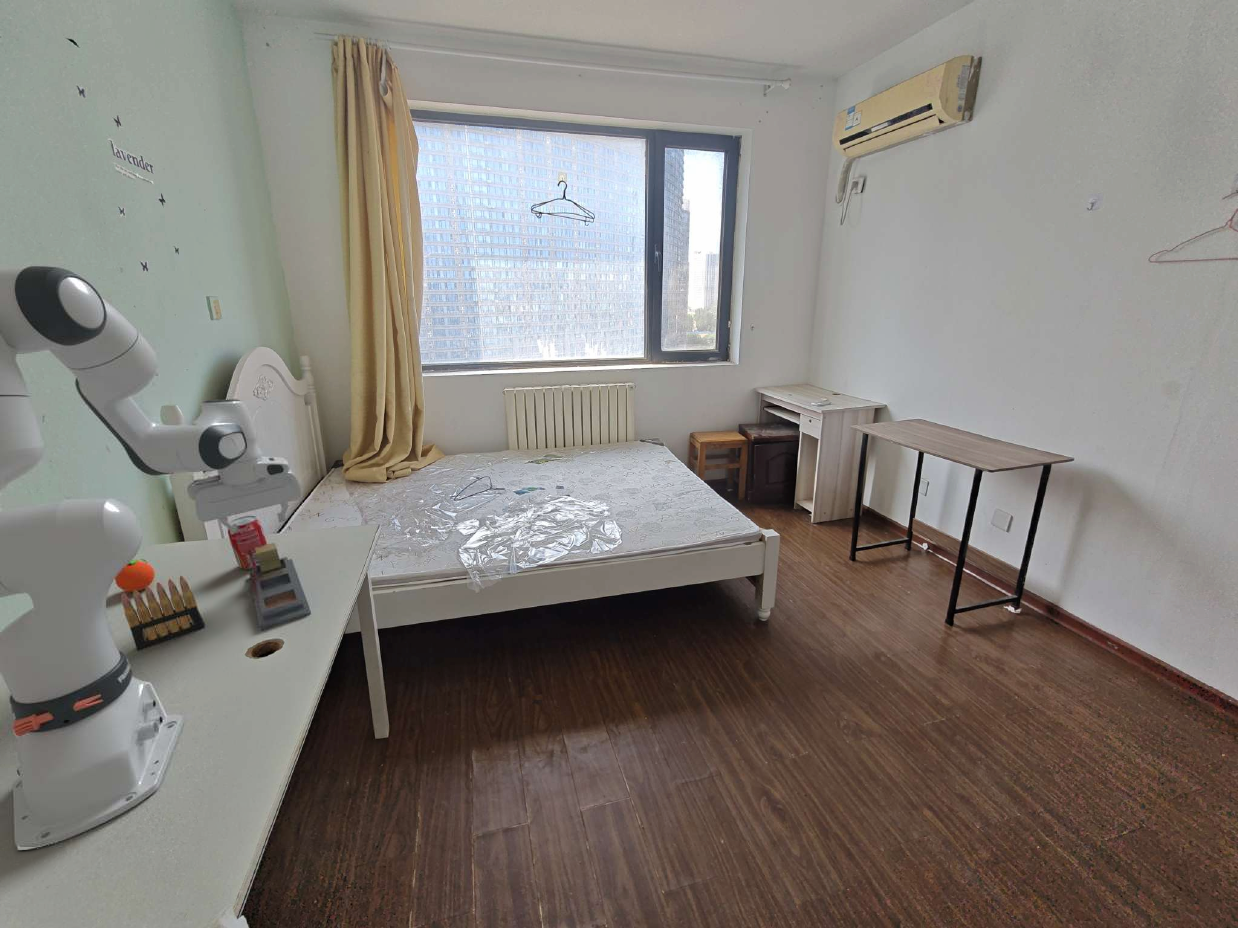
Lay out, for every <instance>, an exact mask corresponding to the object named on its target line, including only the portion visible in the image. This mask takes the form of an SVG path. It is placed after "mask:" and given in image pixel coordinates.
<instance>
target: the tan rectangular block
mask: <svg viewBox="0 0 1238 928" xmlns="http://www.w3.org/2000/svg"><path fill="white" fill-rule="evenodd" d="M255 550H256V554H257V558H258V561H259V565H260V568H261V571H262V575H263V574H266V573H270V572H273V571H276V570H280V569H282V566H281V562H280V559H281V558H280V555H279V552H278V548H277V546H276V543H275V542H272V543H267V545H264V546H260V547H256V548H255Z"/></svg>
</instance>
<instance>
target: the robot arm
mask: <svg viewBox="0 0 1238 928" xmlns="http://www.w3.org/2000/svg"><path fill="white" fill-rule="evenodd" d="M43 351H49V352H50V353H51V354H52V355H53V356H54V357H55V358H56V359H57V360H58V361H59V362H60V363H62V365H64V366H65V367H66V368H67V369H68V370H69V371H70V372H71V373H72V374H73V375H74V377H75V388H76V391H77V393H78V394H79V396H80V397H81V399H82V400H83V401H84V403H85V405H87V407H88V408H89V410H90V411H92V413H93V414H95V416H96V417H97V418H98V419H99V420H100V421H101V423H102V424H103V425H104V426H105V427H106V428H107V429H108V431H109V432H110V433H112V435H113V436H114V437H115V438H116V439H117V441H119V443H120V444H121V445H122V447H123V449H124V450H125V452H126V454H127V455H128V458H129V460H130V461H131V463H132V464H133V465H134V466H135V467H136V468H137V469H138V470H139V471H140V472H142V473H143V474H146V475H149V476H153V477H154V476H164V475H172V474H178V473H179V474H180V473H199V472H213V471H214V472H215V471H217V475H213V476H209V477H206V478H205V477H204V478H198V479H197V478H196V479H195V480H193V482H191V483H189V484H188V486H187V487H186V488H187V489H186V490H187V494H188V497H189V498H190V500H192V501H194V505H195V511H196V515H197V519H198V520H199V521H201V522H203V523H206V522H211V521H215V520H219V521H220V523H221V524H222V526H225V527H226V528H227V529H228V528H229V530H230V533H231V535H232V534H236V533H239V531H238V528H237V524H233V525H232V524H231V523H229V522H230V521H229V517H231V516H235V515H236V516H237V515H240V514H244V513H248V512H252V511H257V510H260V509H265V508H269V507H272V506H277V505H280V507H281V511H280V512H277V513H276V516H277V518H278V519H277V520H278V522H279V523H282V522H286V521H287V517H286V513H287V511H288V509H289V503H290V502H294V501H298V500H302V497H303V495H304V492H303V489H302V486H301V484H300V482H299V480H298V478H297V476H296V474H295V473H294V471H293V470H292V469H291V468H290V464H289V461H287V459H286V458H285V457H280V456H264V455H263V452H262V450H261V449H260V446H259V445H258V441H257V440H258V434H257V429H256V427H255V424H254V419H253V418H252V415H251V413H250V411H249V408H248V407H247V405H246V404H245V402H244V401H242V400H240V399H237V398H233V399H232V398H231V399H230V398H229V399H228V398H226V399H212V400H211V399H210V400H205V401H204V402H201V404H200V411H201V412H200V414H199V415H198V417H197V418H196V419H195V420H194V421H193V422H191V423H190V424H175V425H173V424H172V425H169V424H162V423H158V422H154V421H152V420H150V419H149V418H148V417H147V415H146V414H145V413H144V412H143V410H142V409H141V408H140V407H139V406H138V404H137V403H136V402H135V401H134V399H133V398H132V396H134V395H135V396H136V394H138V393H139V392H141V391H142V390H143V389H145V388H146V387H147V386H148V385H149V384H150V383H151V381H152V380H153V378H154V377H155V375H156V373H157V369H158V364H159V363H158V357H157V354H156V352H155V350H154V349H153V348H152V346H151V345H150V343H149V342H148V341H147V340H146V339H145V337H144V336H143V335H141V333H140V332H139V331H138V330H137V329H136V328H135V327H134V325H133V324H132V323H130V322H129V320H127V318H125V317H124V316H123V315H122V314H121V313H120V312H119V311H118V310H116V308H114V307H113V306H112V305H111V304H110V303H109V302H107V301H106V300H105V299H104V298H102V296H101V295H100V294H99V291H98V290H96V288H95V287H94V286H93V285H92V284H91V283H90V282H88V280H86V279H85V278H83V277H81V275H78V274H76V273H75V272H73V271H71V270H69V269H65V268H61V267H56V266H47V265H46V266H45V265H32V266H28V267H25V268H5V269H4V268H1V269H0V598H4V597H5V598H6V597H9V596H13V595H18V594H20V595H21V594H27V595H28V596H29V597H30V599H31V602H32V606H33V607H32V608H30V609H29V610H28V611H26V612H25V613H23V614H21V615H20V616H19V617H17V618H16V619H14V620H13V621H11V622H10V623H9V624H8V625H7V626H5V627H4V628H3V629H2V630H1V631H0V675H1V677H2V680H3V681H4V683H5V685H6V686H7V690H8V691H9V693H10V696H9V703H10V711H11V714H12V717H13V719H14V721H13V727H12V728H13V734H14V735H15V737H16V744H17V753H18V761H19V762H18V763H19V766H18V767H17V770H16V772H17V775H18V776H17V778H15V779H14V781H13V783H12V789H13V790H12V791H13V792H12V793H13V794H12V796H13V799H12V800H13V827H14V828H13V829H14V831H13V833H14V836H13V837H14V845H15V844H16V845H15V847H16V846H20V847H38V846H43V845H44V846H45V845H48V844H51V845H54V844H57V843H60V842H62V841H65V840H68V839H70V838H72V837H74V836H77V835H79V834H82V833H84V832H86V831H88V830H91V829H93V828H96V827H97V826H99V825H101V824H104V823H106V822H108V821H109V820H112V819H113V818H115V817H117V816H119V815H121V814H123V813H125V812H126V811H129V810H130V809H132V808H133V807H135V806H137V805H138V804H140V803H141V802H143V801H144V800H145V799H146V798H149V796H151V795H153V793H155V792H156V791H157V790H158V788H159V787H160V785H161V782H162V780H163V777H164V775H165V772H166V770H167V767H168V764H169V762H170V759H171V757H172V753H173V751H174V749H175V746H176V743H177V740H178V738H179V735H180V733H181V730H182V728H183V726H184V725H183V724H184V722H185V721H184V718H183V717H182V715H180V714H167V713H166V711H165V709H164V706H163V705H162V703H161V701H160V698H159V697H158V695H157V693H156V690H155V688H154V686H153V685H152V683H151V682H149V681H145V680H142V679H139V678H136V677H134V676H133V670H132V668H131V664H130V661H129V659H128V658H127V657H126V655H125V653H124V652H123V651H122V650H119V648H118V646H117V643H116V641H115V638H114V636H113V632H112V629H111V626H110V623H109V622H110V621H109V619H108V615H107V597H108V594H109V590H110V588H111V586H112V583H113V582H114V580H115V578H116V576H117V575H118V574H119V572H120V571H121V570H122V569H123V568H124V567H125V566H126V565H127V564H128V563H130V562H131V561H133V559H134V558H135V557H136V555H137V553H138V552H139V550H140V548H141V545H142V541H143V529H142V523H141V521H140V519H139V517H138V516H137V514H136V513H135V512H134V511H133V509H132V508H130V507H129V506H128V505H126V503H124V502H121V501H119V500H118V499H116V498H113V497H112V498H111V497H106V498H105V497H95V498H94V497H90V498H66V499H61V500H55V501H50V502H43V503H38V504H32V505H31V504H30V505H26V506H21V507H13V508H9V509H8V508H7V509H3V508H2V497H3V496H2V495H3V493H4V491H5V489H6V488H7V486H8V484H10V483H11V482H13V481H15V480H17V479H19V478H21V477H22V476H24V475H25V474H27V473H29V472H30V471H31V470H33V469H34V468H36V467H37V465H39V463H40V462H41V461H42V459H43V457H44V455H45V449H46V447H45V442H44V439H43V436H42V433H41V432H42V431H41V429H40V427H39V422H38V419H37V415H36V412H35V409H34V406H33V402H32V398H31V396H30V393H29V388H28V387H27V384H26V381H25V379H24V376H23V373H22V371H21V368H20V366H19V364H18V362H17V360H16V359H17V355H26V354H32V353H38V352H43ZM59 841H60V842H59ZM53 843H54V844H53ZM48 846H49V845H48ZM45 847H46V846H45Z"/></svg>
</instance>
